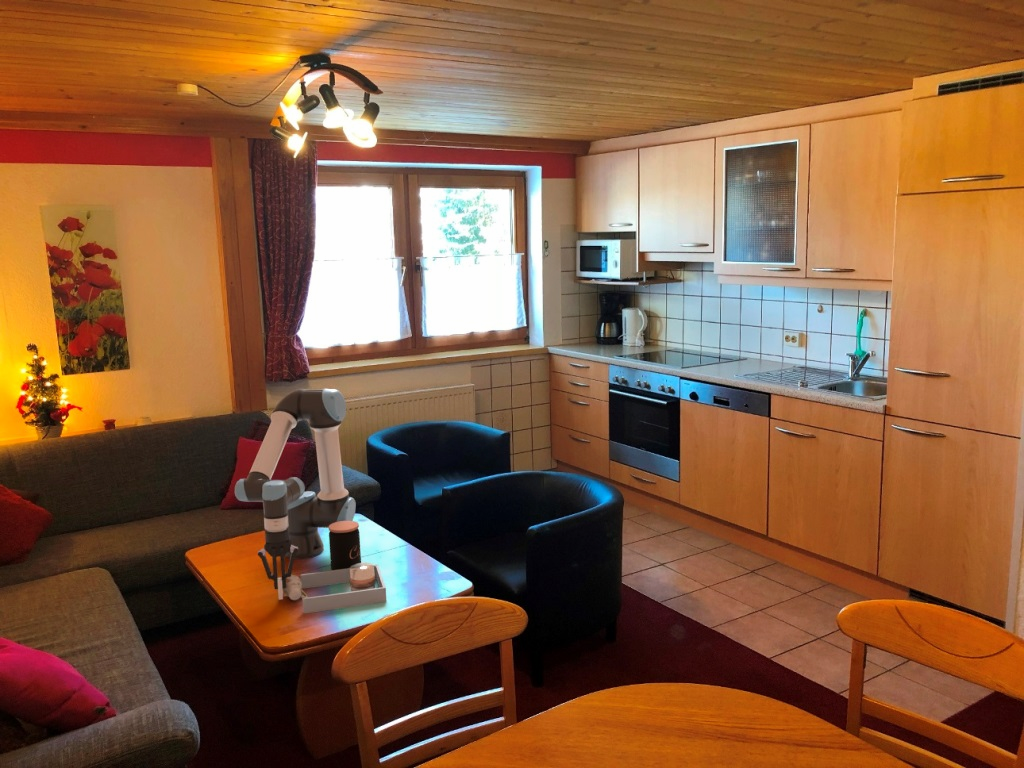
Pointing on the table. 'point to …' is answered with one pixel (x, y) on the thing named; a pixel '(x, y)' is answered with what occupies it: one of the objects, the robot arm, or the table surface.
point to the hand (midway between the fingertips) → (280, 597)
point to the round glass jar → (362, 576)
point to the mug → (294, 588)
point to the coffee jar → (344, 544)
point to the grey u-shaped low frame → (341, 598)
